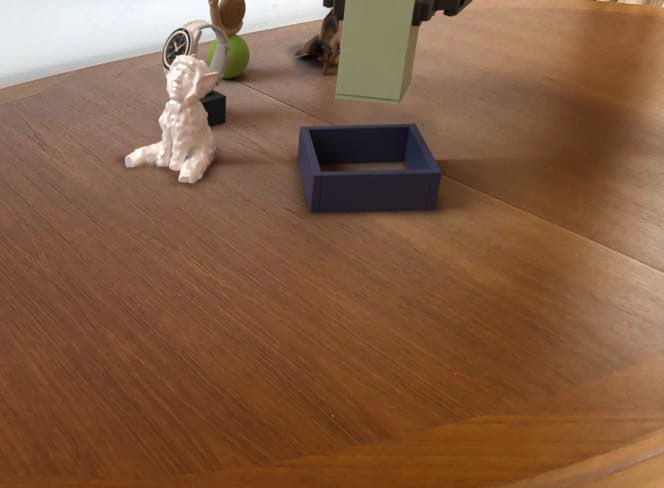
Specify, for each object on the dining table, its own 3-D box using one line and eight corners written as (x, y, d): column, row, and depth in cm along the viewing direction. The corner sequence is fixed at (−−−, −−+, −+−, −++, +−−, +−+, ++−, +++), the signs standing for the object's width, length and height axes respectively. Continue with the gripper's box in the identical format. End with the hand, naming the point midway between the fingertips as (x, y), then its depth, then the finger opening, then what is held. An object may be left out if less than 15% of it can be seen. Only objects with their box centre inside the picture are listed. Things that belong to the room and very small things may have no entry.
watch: (155, 120, 106) (153, 24, 99) (210, 105, 109) (212, 11, 102) (181, 135, 103) (181, 36, 96) (238, 118, 106) (241, 22, 99)
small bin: (349, 77, 86) (364, -58, 79) (410, 83, 84) (432, -55, 77) (335, 98, 82) (350, -43, 75) (398, 105, 80) (420, -39, 73)
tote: (407, 169, 93) (415, 123, 90) (432, 222, 84) (442, 172, 81) (296, 172, 94) (299, 126, 90) (309, 224, 85) (313, 175, 81)
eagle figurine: (368, 63, 115) (349, 29, 121) (346, 20, 110) (328, -13, 116) (315, 96, 118) (299, 62, 124) (292, 56, 113) (276, 22, 119)
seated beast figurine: (121, 172, 95) (115, 59, 88) (172, 146, 100) (171, 36, 93) (189, 196, 90) (190, 78, 83) (240, 167, 95) (244, 53, 87)
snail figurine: (193, 79, 117) (193, -19, 109) (227, 67, 120) (229, -29, 112) (223, 89, 113) (226, -11, 106) (257, 76, 116) (262, -22, 109)
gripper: (481, 8, 88) (456, 63, 76) (337, -2, 93) (294, 48, 81) (497, -76, 83) (474, -31, 72) (345, -82, 88) (300, -41, 77)
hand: (378, 11), depth 77 cm, fingers closed on small bin, 5 cm apart
